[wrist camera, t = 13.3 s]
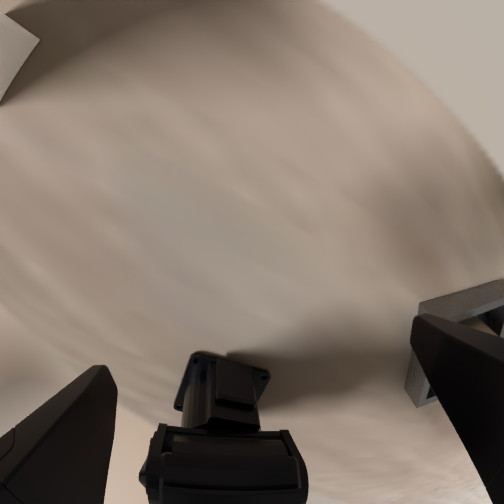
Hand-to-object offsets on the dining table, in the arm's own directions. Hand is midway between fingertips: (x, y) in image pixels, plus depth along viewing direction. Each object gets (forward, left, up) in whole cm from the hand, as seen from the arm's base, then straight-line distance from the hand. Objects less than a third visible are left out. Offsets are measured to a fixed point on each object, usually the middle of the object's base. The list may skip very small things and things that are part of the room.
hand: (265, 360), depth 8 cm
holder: (-3, -23, -13) cm, 26 cm away
